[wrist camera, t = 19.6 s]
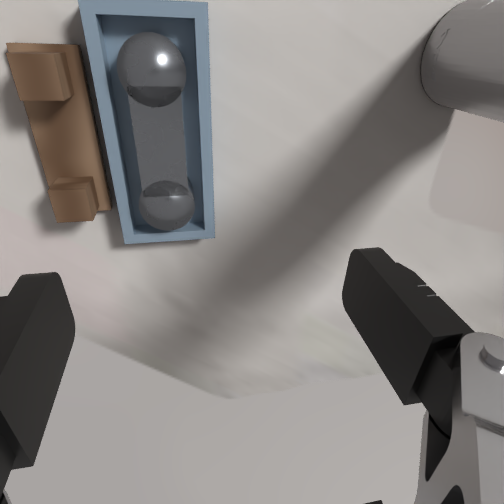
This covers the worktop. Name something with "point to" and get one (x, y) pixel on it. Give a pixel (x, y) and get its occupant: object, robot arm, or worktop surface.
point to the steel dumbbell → (158, 127)
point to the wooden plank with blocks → (62, 126)
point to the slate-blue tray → (118, 110)
